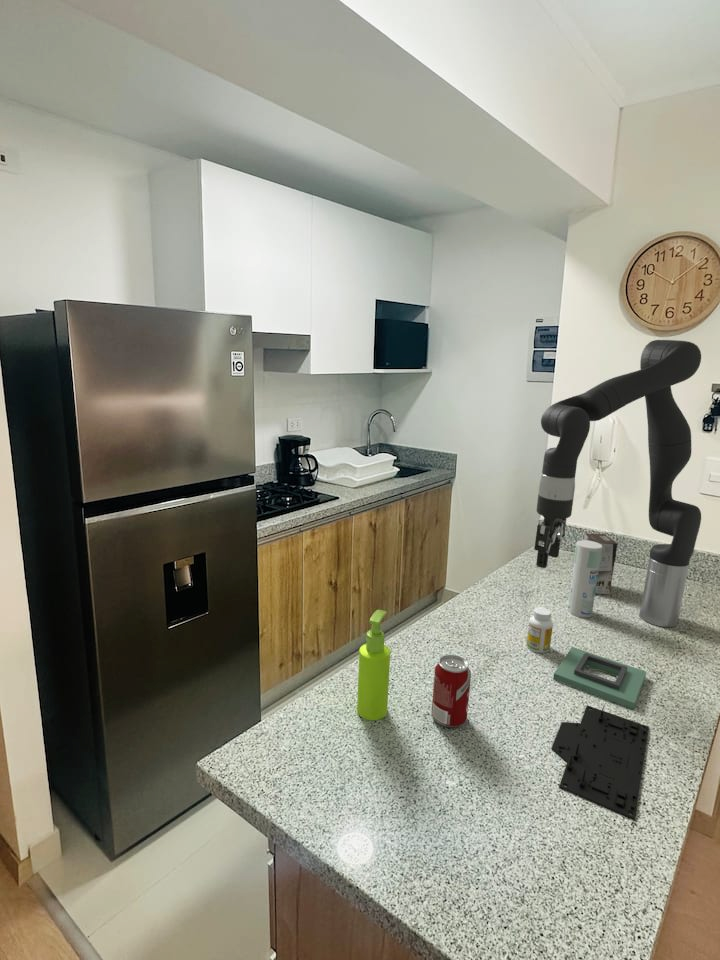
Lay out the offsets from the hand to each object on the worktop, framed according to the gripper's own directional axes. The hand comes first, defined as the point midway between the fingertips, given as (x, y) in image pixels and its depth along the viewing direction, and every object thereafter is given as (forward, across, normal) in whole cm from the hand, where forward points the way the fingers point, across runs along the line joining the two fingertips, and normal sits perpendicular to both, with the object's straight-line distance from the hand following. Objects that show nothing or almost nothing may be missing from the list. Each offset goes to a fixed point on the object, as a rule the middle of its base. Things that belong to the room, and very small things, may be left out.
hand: (547, 561), depth 125 cm
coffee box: (+22, +46, -2) cm, 51 cm away
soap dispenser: (+22, -44, +17) cm, 53 cm away
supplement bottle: (+22, 0, 0) cm, 22 cm away
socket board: (+22, -4, -15) cm, 27 cm away
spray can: (+22, +26, -3) cm, 34 cm away
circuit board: (+23, -28, -21) cm, 42 cm away
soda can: (+22, -37, +4) cm, 44 cm away
